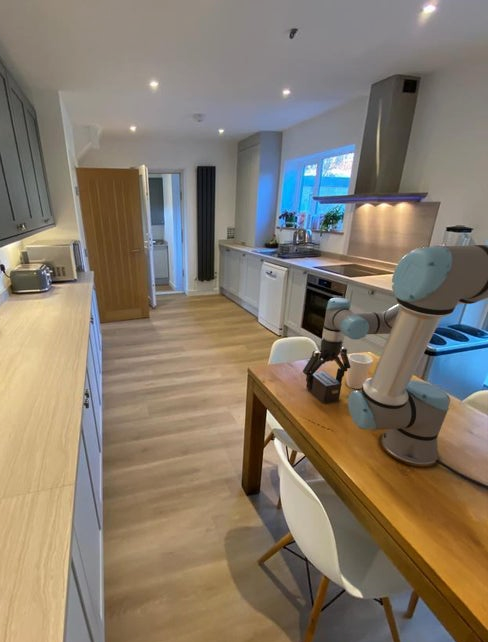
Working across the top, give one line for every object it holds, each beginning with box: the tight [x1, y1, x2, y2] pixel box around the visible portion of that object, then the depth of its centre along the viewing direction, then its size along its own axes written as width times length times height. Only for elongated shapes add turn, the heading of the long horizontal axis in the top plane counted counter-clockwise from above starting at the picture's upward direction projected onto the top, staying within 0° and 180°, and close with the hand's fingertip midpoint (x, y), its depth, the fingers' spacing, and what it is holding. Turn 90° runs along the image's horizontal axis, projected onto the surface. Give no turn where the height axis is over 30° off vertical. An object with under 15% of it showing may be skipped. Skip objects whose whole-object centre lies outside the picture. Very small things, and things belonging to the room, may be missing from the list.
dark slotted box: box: [307, 370, 343, 404], centre depth 132 cm, size 12×7×8 cm, turn 14°
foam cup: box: [346, 353, 374, 390], centre depth 138 cm, size 10×9×13 cm
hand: (323, 386), depth 133 cm, fingers open, 13 cm apart
